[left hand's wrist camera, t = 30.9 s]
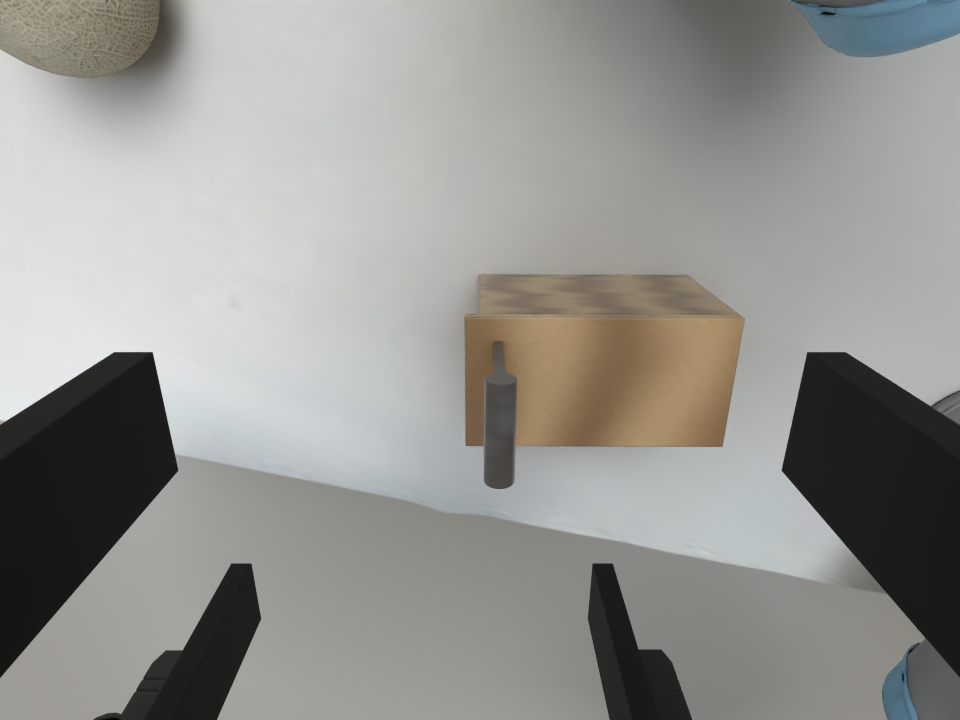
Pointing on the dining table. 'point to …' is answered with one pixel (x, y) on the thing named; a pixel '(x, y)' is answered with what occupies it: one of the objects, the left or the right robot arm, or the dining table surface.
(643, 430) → the lid
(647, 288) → the brown hollow rectangular box
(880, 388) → the left robot arm
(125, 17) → the fruit
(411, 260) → the dining table surface
